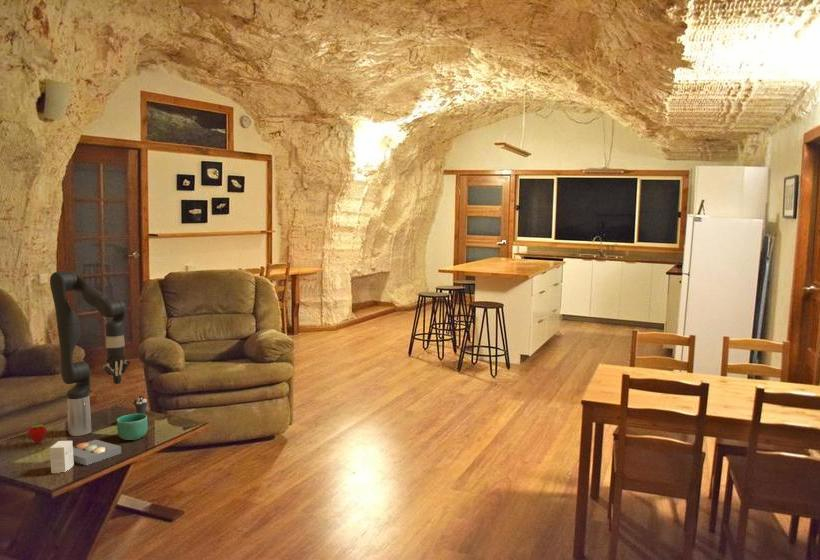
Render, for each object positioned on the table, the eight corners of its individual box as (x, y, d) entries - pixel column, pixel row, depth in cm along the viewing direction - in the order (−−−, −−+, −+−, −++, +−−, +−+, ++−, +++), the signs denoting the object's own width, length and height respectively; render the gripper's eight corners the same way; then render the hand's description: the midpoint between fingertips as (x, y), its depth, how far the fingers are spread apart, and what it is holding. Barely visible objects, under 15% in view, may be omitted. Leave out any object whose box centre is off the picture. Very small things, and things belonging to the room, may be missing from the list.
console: (60, 458, 272) (60, 451, 272) (95, 446, 286) (95, 439, 286) (86, 465, 263) (85, 458, 263) (121, 453, 277) (121, 446, 277)
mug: (141, 442, 290) (140, 422, 289) (113, 443, 290) (111, 422, 289) (155, 430, 306) (154, 410, 305) (128, 430, 306) (127, 411, 305)
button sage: (82, 455, 274) (82, 447, 273) (92, 452, 278) (92, 444, 277) (89, 457, 271) (89, 449, 271) (99, 453, 275) (99, 445, 275)
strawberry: (32, 441, 293) (31, 419, 292) (50, 441, 293) (48, 419, 292) (25, 446, 287) (24, 424, 286) (43, 445, 287) (42, 423, 286)
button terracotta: (74, 453, 277) (74, 445, 276) (84, 449, 281) (84, 441, 280) (81, 455, 274) (80, 447, 274) (91, 451, 278) (90, 443, 278)
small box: (59, 466, 263) (58, 440, 262) (74, 465, 264) (72, 440, 263) (50, 473, 256) (48, 447, 254) (65, 473, 256) (63, 447, 255)
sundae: (152, 421, 320) (150, 391, 318) (141, 425, 314) (139, 394, 312) (142, 419, 323) (140, 389, 321) (131, 423, 317) (129, 393, 315)
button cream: (90, 457, 271) (90, 449, 271) (101, 454, 275) (100, 446, 275) (97, 459, 269) (97, 451, 268) (107, 456, 273) (107, 448, 272)
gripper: (123, 342, 297) (125, 379, 299) (96, 347, 286) (98, 385, 288) (133, 343, 293) (135, 381, 295) (106, 349, 282) (108, 388, 284)
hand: (117, 383), depth 292 cm, fingers closed
